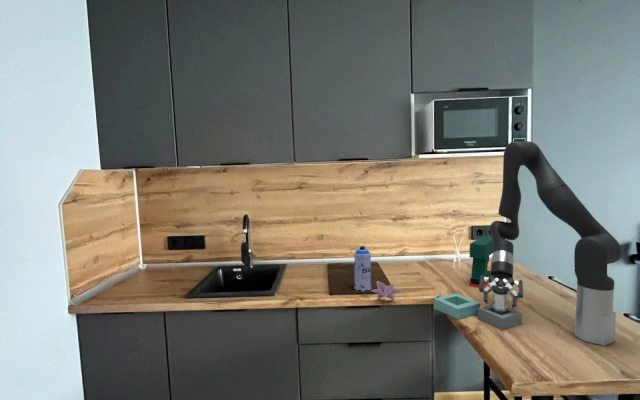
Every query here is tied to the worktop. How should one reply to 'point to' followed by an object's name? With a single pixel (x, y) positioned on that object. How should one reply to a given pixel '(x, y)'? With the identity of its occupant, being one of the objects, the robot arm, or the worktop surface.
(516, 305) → the robot arm
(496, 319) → the socket block
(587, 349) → the worktop surface
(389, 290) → the lily
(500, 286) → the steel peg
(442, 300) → the teal square tray
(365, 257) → the aerosol can
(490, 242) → the power tool
